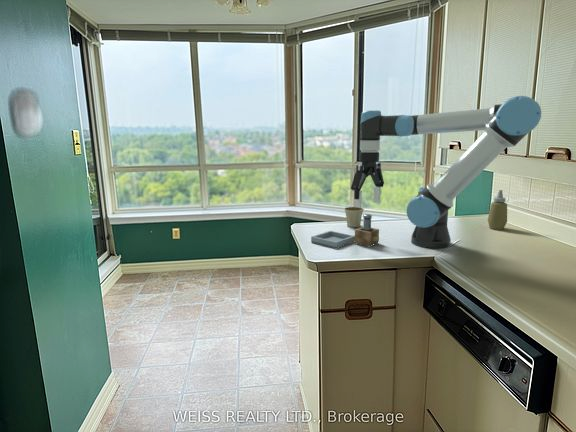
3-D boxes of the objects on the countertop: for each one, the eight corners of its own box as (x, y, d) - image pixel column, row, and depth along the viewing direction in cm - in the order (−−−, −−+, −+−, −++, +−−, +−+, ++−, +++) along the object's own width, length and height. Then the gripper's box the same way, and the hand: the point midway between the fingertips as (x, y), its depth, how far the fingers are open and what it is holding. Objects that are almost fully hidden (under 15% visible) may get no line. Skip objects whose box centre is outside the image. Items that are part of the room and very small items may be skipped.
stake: (372, 243, 159) (373, 215, 157) (367, 245, 157) (368, 216, 154) (365, 241, 162) (366, 213, 159) (360, 243, 159) (361, 215, 157)
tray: (355, 241, 162) (355, 235, 162) (336, 248, 153) (336, 242, 152) (330, 236, 171) (330, 230, 170) (311, 242, 162) (311, 236, 161)
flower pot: (344, 228, 184) (345, 210, 182) (342, 223, 193) (343, 206, 191) (364, 228, 183) (365, 210, 181) (361, 223, 193) (362, 206, 191)
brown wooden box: (381, 244, 158) (382, 229, 157) (372, 247, 153) (373, 233, 152) (364, 240, 164) (364, 226, 163) (354, 243, 159) (354, 229, 158)
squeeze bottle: (483, 228, 181) (487, 190, 177) (490, 225, 186) (494, 188, 182) (502, 231, 175) (506, 192, 171) (509, 228, 180) (513, 190, 176)
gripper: (378, 149, 162) (375, 199, 167) (342, 152, 145) (341, 208, 150) (394, 150, 157) (391, 201, 162) (359, 153, 140) (357, 210, 145)
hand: (367, 204), depth 156 cm, fingers open, 13 cm apart
